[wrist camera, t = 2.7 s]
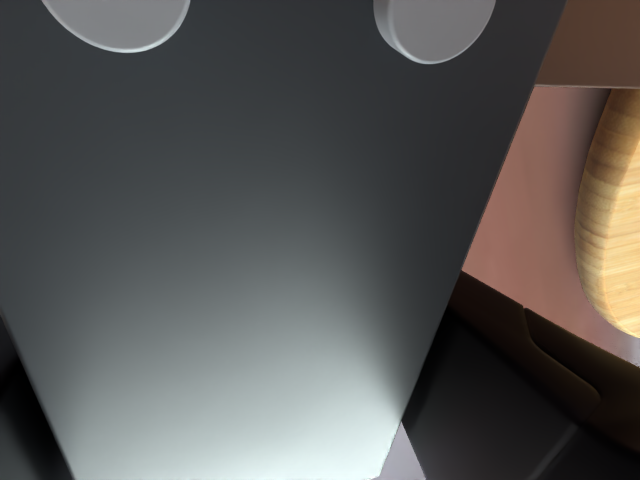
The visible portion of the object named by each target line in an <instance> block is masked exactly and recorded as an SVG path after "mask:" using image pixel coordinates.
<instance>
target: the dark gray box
mask: <svg viewBox="0 0 640 480" xmlns="http://www.w3.org/2000/svg"><path fill="white" fill-rule="evenodd" d="M567 2H568V0H0V315H1V318H2V320H3V322H4V325H5V327H6V329H7V331H8V334H9V336H10V338H11V340H12V343H13V345H14V347H15V349H16V352H17V354H18V356H19V359H20V361H21V363H22V365H23V368H24V370H25V372H26V374H27V377H28V379H29V381H30V383H31V386H32V388H33V390H34V393H35V395H36V397H37V399H38V402H39V404H40V406H41V408H42V411H43V413H44V415H45V417H46V420H47V422H48V424H49V427H50V429H51V431H52V433H53V436H54V438H55V440H56V442H57V445H58V447H59V449H60V451H61V454H62V456H63V458H64V461H65V463H66V465H67V467H68V470H69V472H70V474H71V476H72V479H73V480H367V479H371V478H375V477H378V476H379V475H380V473H381V471H382V468H383V466H384V463H385V461H386V458H387V456H388V453H389V451H390V448H391V446H392V443H393V440H394V438H395V435H396V433H397V430H398V428H399V425H400V423H401V420H402V418H403V415H404V413H405V410H406V408H407V405H408V403H409V400H410V398H411V395H412V393H413V390H414V388H415V385H416V383H417V380H418V378H419V375H420V373H421V370H422V367H423V365H424V362H425V360H426V357H427V355H428V352H429V350H430V347H431V345H432V342H433V340H434V337H435V335H436V332H437V330H438V327H439V325H440V322H441V320H442V317H443V315H444V312H445V310H446V307H447V305H448V302H449V300H450V297H451V294H452V292H453V289H454V287H455V284H456V282H457V279H458V277H459V274H460V272H461V269H462V267H463V264H464V262H465V259H466V257H467V254H468V252H469V249H470V247H471V244H472V242H473V239H474V237H475V234H476V232H477V229H478V227H479V224H480V221H481V219H482V216H483V214H484V211H485V209H486V206H487V204H488V201H489V199H490V196H491V194H492V191H493V189H494V186H495V184H496V181H497V179H498V176H499V174H500V171H501V169H502V166H503V164H504V161H505V159H506V156H507V154H508V151H509V148H510V146H511V143H512V141H513V138H514V136H515V133H516V131H517V128H518V126H519V123H520V121H521V118H522V116H523V113H524V111H525V108H526V106H527V103H528V101H529V98H530V96H531V93H532V91H533V88H534V86H535V83H536V81H537V78H538V75H539V73H540V70H541V68H542V65H543V63H544V60H545V58H546V55H547V53H548V50H549V48H550V45H551V43H552V40H553V38H554V35H555V33H556V30H557V28H558V25H559V23H560V20H561V18H562V15H563V13H564V10H565V8H566V5H567Z"/></svg>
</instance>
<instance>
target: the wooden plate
mask: <svg viewBox="0 0 640 480" xmlns="http://www.w3.org/2000/svg"><path fill="white" fill-rule="evenodd" d="M574 239H575V251H576V261H577V270H578V274H579V277H580V281H581V285H582V288H583V291H584V293H585V295H586V297H587V299H588V300H589V302H590V303H591V305H592V306H593V308H594V309H595V310H596V311H597V312H598V313H599V314H600V315H601V316H602V317H603V318H604V319H605V320H607V321H608V322H609V323H610V324H612V325H613V326H614V327H615V328H617V329H619V330H621V331H623V332H625V333H627V334H629V335H631V336H634V337H637V338H640V89H627V88H612V90H611V93H610V95H609V98H608V100H607V103H606V105H605V108H604V111H603V113H602V116H601V118H600V121H599V123H598V126H597V129H596V132H595V135H594V138H593V141H592V144H591V147H590V150H589V153H588V156H587V160H586V164H585V168H584V172H583V176H582V180H581V184H580V188H579V194H578V201H577V208H576V215H575V238H574Z"/></svg>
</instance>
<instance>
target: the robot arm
mask: <svg viewBox="0 0 640 480" xmlns="http://www.w3.org/2000/svg"><path fill="white" fill-rule="evenodd" d="M401 422H402V424H403V426H404V429H405V431H406V433H407V436H408V438H409V440H410V443H411V445H412V447H413V450H414V452H415V454H416V456H417V459H418V461H419V463H420V466H421V468H422V470H423V473H424V475H425V477H426V480H640V368H639V367H637V366H635V365H633V364H631V363H629V362H627V361H625V360H623V359H621V358H619V357H617V356H615V355H613V354H611V353H609V352H607V351H605V350H603V349H601V348H599V347H597V346H596V345H594V344H592V343H590V342H588V341H586V340H584V339H582V338H580V337H578V336H576V335H574V334H572V333H571V332H569V331H567V330H565V329H563V328H562V327H560V326H558V325H556V324H554V323H553V322H551V321H549V320H547V319H545V318H544V317H542V316H540V315H539V314H537V313H535V312H533V311H532V310H530V309H528V308H523V306H522V305H521V304H519V303H518V302H516V301H514V300H512V299H511V298H509V297H507V296H505V295H504V294H502V293H500V292H498V291H497V290H495V289H493V288H491V287H490V286H488V285H486V284H485V283H483V282H481V281H479V280H478V279H476V278H474V277H472V276H471V275H469V274H467V273H465V272H464V271H462V270H461V272H460V274H459V277H458V279H457V282H456V284H455V287H454V289H453V292H452V294H451V297H450V300H449V302H448V305H447V307H446V310H445V312H444V315H443V317H442V320H441V322H440V325H439V327H438V330H437V332H436V335H435V337H434V340H433V342H432V345H431V347H430V350H429V352H428V355H427V357H426V360H425V362H424V365H423V367H422V370H421V373H420V375H419V378H418V380H417V383H416V385H415V388H414V390H413V393H412V395H411V398H410V400H409V403H408V405H407V408H406V410H405V413H404V415H403V418H402V420H401ZM0 480H73V479H72V476H71V474H70V472H69V470H68V467H67V465H66V463H65V461H64V458H63V456H62V454H61V451H60V449H59V447H58V445H57V442H56V440H55V438H54V436H53V433H52V431H51V429H50V427H49V424H48V422H47V420H46V417H45V415H44V413H43V411H42V408H41V406H40V404H39V402H38V399H37V397H36V395H35V393H34V390H33V388H32V386H31V383H30V381H29V379H28V377H27V374H26V372H25V370H24V368H23V365H22V363H21V361H20V359H19V356H18V354H17V352H16V349H15V347H14V345H13V343H12V340H11V338H10V336H9V334H8V331H7V329H6V327H5V325H4V322H3V320H2V318H1V315H0Z"/></svg>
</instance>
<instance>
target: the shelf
mask: <svg viewBox="0 0 640 480" xmlns="http://www.w3.org/2000/svg"><path fill="white" fill-rule="evenodd" d="M534 87H579V88H627V89H640V0H568V2H567V5H566V8H565V10H564V13H563V15H562V18H561V20H560V23H559V25H558V28H557V30H556V33H555V35H554V38H553V40H552V43H551V45H550V48H549V50H548V53H547V55H546V58H545V60H544V63H543V65H542V68H541V70H540V73H539V75H538V78H537V81H536V83H535V86H534Z"/></svg>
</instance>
